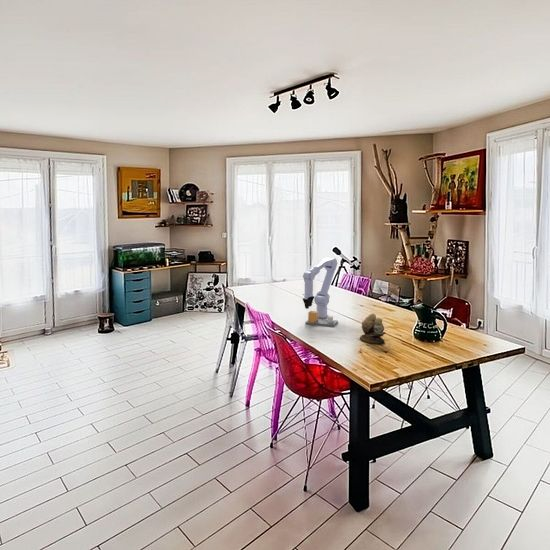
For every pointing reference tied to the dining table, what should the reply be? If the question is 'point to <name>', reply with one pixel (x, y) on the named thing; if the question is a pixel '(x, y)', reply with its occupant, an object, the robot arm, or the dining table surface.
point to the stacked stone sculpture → (372, 330)
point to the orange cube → (313, 316)
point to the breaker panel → (322, 322)
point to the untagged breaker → (330, 319)
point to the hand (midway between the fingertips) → (308, 307)
